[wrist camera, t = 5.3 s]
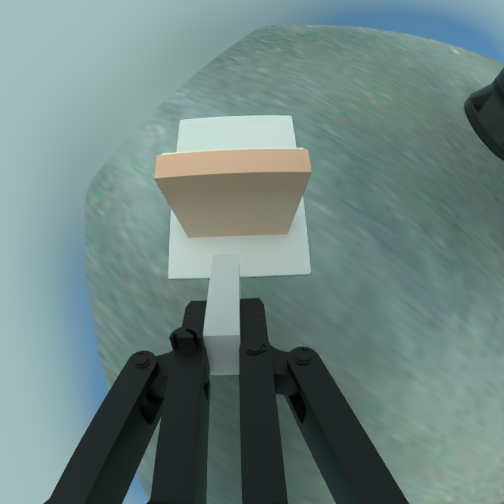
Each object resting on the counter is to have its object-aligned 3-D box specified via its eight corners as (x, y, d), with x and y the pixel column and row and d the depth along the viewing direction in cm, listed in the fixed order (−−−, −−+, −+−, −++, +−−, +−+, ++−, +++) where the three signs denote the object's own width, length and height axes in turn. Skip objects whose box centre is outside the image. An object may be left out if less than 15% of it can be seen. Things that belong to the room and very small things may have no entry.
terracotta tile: (287, 234, 29) (311, 171, 18) (188, 237, 29) (154, 178, 17) (286, 215, 30) (307, 146, 18) (189, 218, 29) (157, 152, 18)
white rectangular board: (309, 274, 29) (311, 273, 28) (169, 279, 28) (168, 278, 28) (290, 118, 34) (291, 115, 34) (181, 123, 34) (180, 120, 33)
